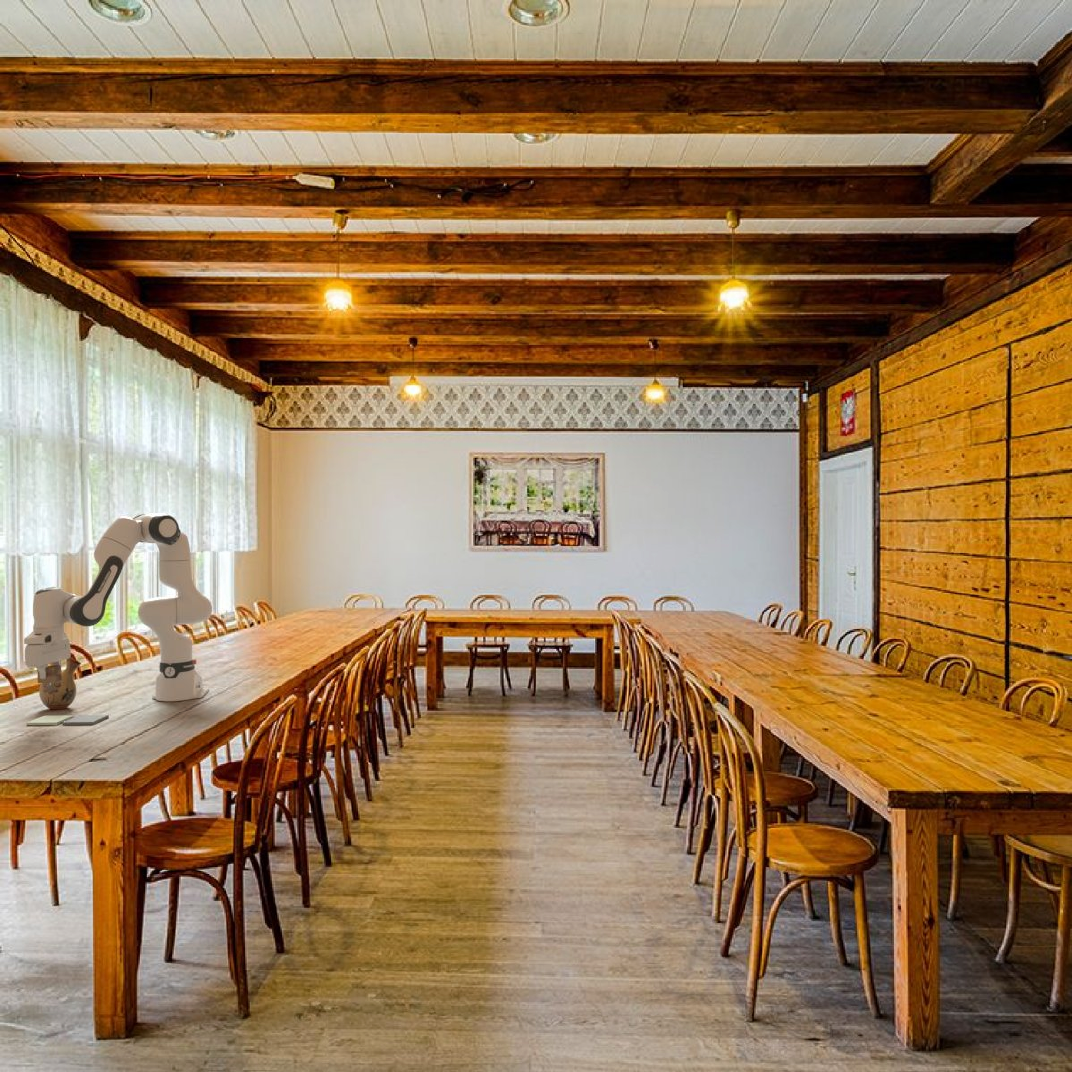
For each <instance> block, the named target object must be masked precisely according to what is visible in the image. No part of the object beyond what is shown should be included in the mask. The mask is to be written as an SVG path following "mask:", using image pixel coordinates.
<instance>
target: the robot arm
mask: <svg viewBox="0 0 1072 1072" xmlns="http://www.w3.org/2000/svg"><path fill="white" fill-rule="evenodd" d="M139 543H148V544H155V545H156V546H157V548H158V560H159V561H158V570H159V571H158V575H159V576H158V578H159V581H160V582H161V584H163V585H165V586H166V587H168V588H171V589H174V590H175V591H176V592H177V595H175V596H173V595H172V596H157V597H151V598H147V599H143V601H142V602H141V603H140V604H139V607H138V611H137V614H138V615H137V616H138V618H139V621H140V622H141V623H142V624H143V625H144V626H146V627H147V628H149V629H150V630H151V631H152V632H153V633H154V634H155V635H156V637H157V638H156V639H157V640H158V644H159V651H160V662H159V666H158V668H159V674H158V675H157V676H156V680H155V681H156V682H155V692H154V693H155V694H153V695H152V696H151V699H154V700H156V701H159V702H179V701H189V700H193V699H200V698H201V699H202V698H203V697H204V696H206V694H207V693H208V692H209V691H210V687H203V677H202V676H201V675H200V673H199V672H197V671H196V670H195V668H196V667H195V665H197V659H196V658H195V659H193V642H192V640H191V638H190V637H189V636H188V635H186V634H183V633H181V632H178V631H176V630H175V629H174V628H175V626H180V625H183V626H184V625H195V624H200V623H204V622H207V621H208V620H209V619H210V618H211V616H212V612H213V605H212V603H211V601H210V599H209V598H208V597H206V596H205V595H203V594H202V593H201V592H200V591H199V590H198V589H197V587H196V585H195V583H194V581H193V577H192V564H191V563H192V562H191V558H192V557H191V549H190V542H189V539H188V536H187V534H185V533H184V532H182V531H181V529H180V526H179V522H178V521H177V520H176V518H175V517H173V516H172V515H170V514H167V513H158V512H157V513H156V512H155V513H154V512H153V513H147V514H144V513H143V514H138V515H136V516H134V517H128V516H120V517H118V518H116V519H115V520H114V521H113V523H111V524H110V525H109V527H108V528H107V529H106V530H105V532H104V533H103V535H102V536H101V538H100V539H99V541H98V542H97V544H96V546H95V548H94V552H93V558H94V560H95V562H96V564H97V565H98V573H97V575H96V577H95V579H94V580H93V582H92V584H91V586H90V588H89V589H88V591H87V592H86V593H85V594H84V595H77V594H74V593H71V592H68V591H66V590H64V589H62V588H61V587H58V586H52V587H46V588H42V589H38V590H37V591H36V592H35V593H34V596H33V600H32V601H33V602H32V616H33V620H34V621H33V622H34V623H33V627H32V628H33V629H32V631H31V632H30V633H29V634H28V635H27V636H26V637H24V639H23V643H24V645H26V646H25V647H24V660H25V661H24V662H25V665H26V667H27V668H36V667H37V668H36V669H37V670H38V671H39V673H40V678H41V679H45V678H47V677H48V673H46V670H45V668H46V665H47V664H48V665H51V664H52V665H61V666H62V661H66V659H69V658H70V656H71V655H72V653H71V643H70V640H69V638H68V635H67V634H66V633H65V632H64V631H65V630H64V629H65V628H64V627H65V626H64V625H65V623H70V624H74V625H79V626H82V627H92V626H95V625H97V624H98V623H99V622H101V620H103V617H104V615H105V613H106V605H107V603H108V599H109V597H110V595H111V593H112V592H113V590H114V587H115V585H116V584H117V582H118V580H119V577H120V575H121V573H122V570H123V568H124V566H125V564H126V562H127V561H128V559H129V558H130V556H131V555H132V553H133V552H134V549H135V547H136V546H137V545H138V544H139ZM37 670H36V671H37Z"/></svg>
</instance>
